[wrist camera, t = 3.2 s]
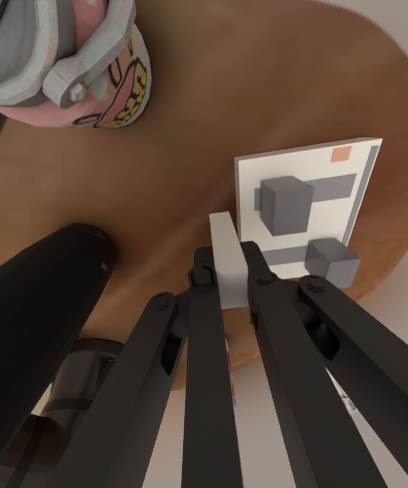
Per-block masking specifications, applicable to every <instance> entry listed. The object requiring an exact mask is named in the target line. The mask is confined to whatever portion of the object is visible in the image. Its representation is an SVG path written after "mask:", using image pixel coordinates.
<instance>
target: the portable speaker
mask: <svg viewBox="0 0 408 488" xmlns="http://www.w3.org/2000/svg"><path fill="white" fill-rule="evenodd" d="M116 261H117V258H116V256H115V251H114V250H113V248H112V246H111V245H110V243H109V242H108V240H107V236H106V234H105V233H103V232H102V231H100V230H99V229H97V228H96V227H94V226H90V225H83V224H73V225H70V226H68V227H65V228H61V229H59V230H57V231H56V232H54V233H52V234H50V235H49V236H47V237H45V238H43V239H41V240H40V241H38V242H36V243H34V244H33V245H31V246H29V247H27V248H26V249H24V250H22V251H21V252H20V253H18V254H17V255H15V256H14V257H12V258H11V259H10V260H8V261H7V262H5V263H4V264H3V265H1V266H0V459H1V457H2V456H3V454H4V453H5V451H6V450H7V448H8V447H9V445H10V444H11V442H12V441H13V439H14V438H15V436H16V435H17V433H18V432H19V430H20V429H21V427H22V426H23V424H24V422H25V421H26V419H27V418H28V416H29V415H30V413H31V412H32V410H33V409H34V407H35V406H36V404H37V403H38V401H39V400H40V398H41V397H42V395H43V393H44V392H45V391H46V389H47V388H48V386H49V384H50V383H51V382H52V380H53V379H54V377H55V375H56V373H57V372H58V370H59V368H60V366H61V365H62V363H63V361H64V359H65V358H66V356H67V354H68V352H69V351H70V349H71V347H72V345H73V344H74V342H75V340H76V338H77V337H78V335H79V333H80V331H81V330H82V328H83V326H84V324H85V323H86V321H87V319H88V317H89V316H90V314H91V312H92V310H93V308H94V307H95V305H96V303H97V301H98V300H99V298H100V296H101V294H102V292H103V290H104V288H105V286H106V283H107V281H108V279H109V277H110V275H111V273H112V271H113V269H114V265H115V263H116Z"/></svg>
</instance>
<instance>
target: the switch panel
mask: <svg viewBox="0 0 408 488" xmlns="http://www.w3.org/2000/svg"><path fill="white" fill-rule="evenodd" d="M382 139H383V138H366V137H360V138H354V139H347V140H341V141H334V142H328V143H322V144H315V145H309V146H302V147H296V148H290V149H283V150H277V151H270V152H264V153H258V154H251V155H245V156H238V157H234V167H235V189H236V210H237V232H238V240H239V242H245V241H254V242H255V243H256V244H258V246H259V248H260V251H261V252H262V255H263V256H264V258H265V260H266V262H267V264H268V266H269V268H270V270H271V271H272V272H273V273H275V274H276V275H277V276H278V277H279V278H281V279H288V278H296V277H303V276H305V275H310V274H309V273H308V271H307V270H306V269H305V264H306V259H307V254H308V249H309V244H310V242H311V241H319V240H326V239H334V238H336V239H337V240H339V241H340V242H341V243H342V244H344V245H345V246H346V247H347V244H348V241H349V238H350V235H351V232H352V229H353V226H354V223H355V220H356V217H357V214H358V211H359V208H360V205H361V202H362V199H363V196H364V193H365V190H366V187H367V184H368V181H369V178H370V175H371V172H372V169H373V166H374V163H375V160H376V157H377V154H378V151H379V148H380V145H381V142H382ZM288 176H294V177H296V178H298V179H300V180H301V181H303V182H305V183H307V184H309V185H311V186H313V187H315V189H314V195H313V200H312V205H311V211H310V216H309V222H308V227H307V232H303V233H296V234H288V235H281V236H274V237H273V236H272V235H271V233H270V232H269V230H268V229H267V228H266V226H265V225H264V223H263V222H262V220H261V219H260V194H261V180H268V179H274V178H281V177H288Z"/></svg>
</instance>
